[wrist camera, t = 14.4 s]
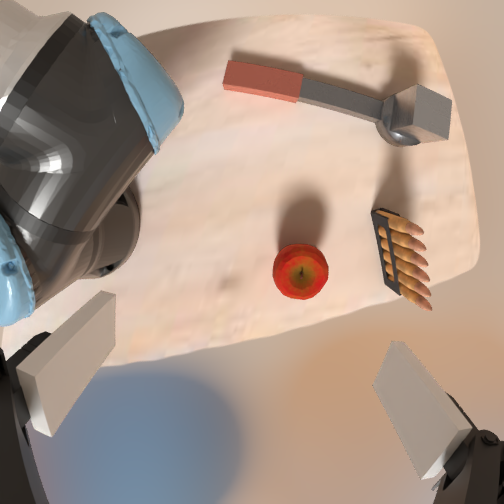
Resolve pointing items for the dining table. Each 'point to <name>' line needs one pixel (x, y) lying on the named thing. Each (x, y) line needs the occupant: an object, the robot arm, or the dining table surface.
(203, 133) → the dining table surface
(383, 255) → the ammunition clip
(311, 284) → the apple
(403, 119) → the brushed steel cube
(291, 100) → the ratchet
